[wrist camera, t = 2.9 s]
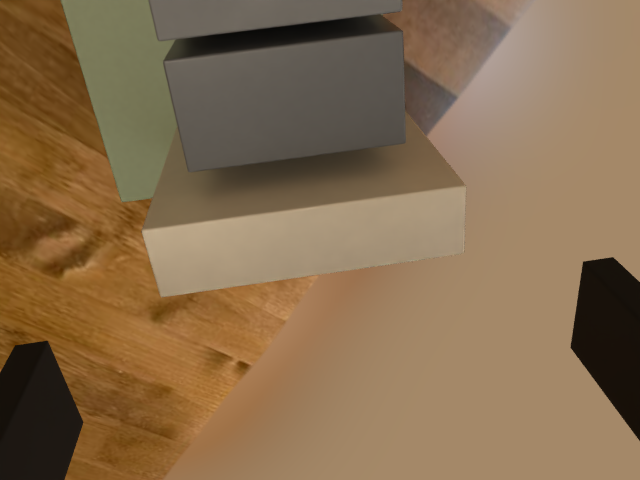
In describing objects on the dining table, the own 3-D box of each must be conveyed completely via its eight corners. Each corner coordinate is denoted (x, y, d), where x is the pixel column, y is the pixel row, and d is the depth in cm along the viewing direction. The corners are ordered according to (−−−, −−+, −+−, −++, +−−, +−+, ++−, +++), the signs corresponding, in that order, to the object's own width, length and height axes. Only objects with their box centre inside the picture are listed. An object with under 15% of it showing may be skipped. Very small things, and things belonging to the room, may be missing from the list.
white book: (386, 85, 28) (467, 185, 18) (388, 134, 29) (465, 254, 19) (181, 112, 28) (140, 230, 17) (191, 161, 29) (160, 298, 18)
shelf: (346, -139, 30) (457, -201, 14) (363, 119, 37) (450, 274, 21) (77, -109, 30) (-126, -138, 14) (145, 148, 36) (64, 330, 20)
